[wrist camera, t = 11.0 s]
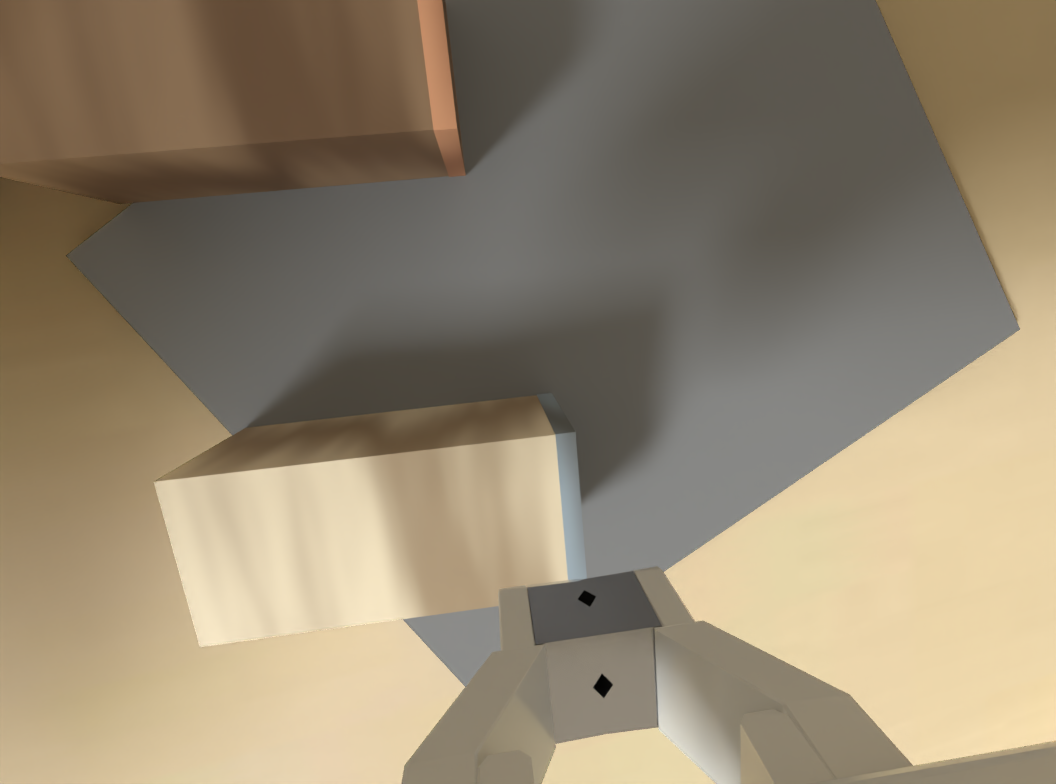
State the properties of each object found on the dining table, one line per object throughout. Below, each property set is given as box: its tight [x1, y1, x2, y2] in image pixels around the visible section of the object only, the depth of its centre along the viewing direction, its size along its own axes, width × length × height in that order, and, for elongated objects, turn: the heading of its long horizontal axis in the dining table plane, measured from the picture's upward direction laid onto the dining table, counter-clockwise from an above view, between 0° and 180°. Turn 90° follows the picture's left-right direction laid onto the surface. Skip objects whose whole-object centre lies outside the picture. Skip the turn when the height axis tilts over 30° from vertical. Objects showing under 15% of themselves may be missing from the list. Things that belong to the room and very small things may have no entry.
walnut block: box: [0, 0, 466, 204], centre depth 12 cm, size 4×4×10 cm
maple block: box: [154, 393, 587, 647], centre depth 14 cm, size 4×4×10 cm
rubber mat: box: [66, 0, 1020, 687], centre depth 16 cm, size 24×20×1 cm
